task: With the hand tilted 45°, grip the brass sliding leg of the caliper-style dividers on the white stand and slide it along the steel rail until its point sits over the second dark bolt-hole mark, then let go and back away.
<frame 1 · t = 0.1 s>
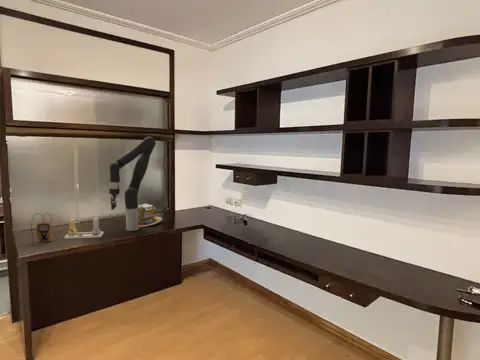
hand: (113, 208, 252), 17 cm above the table, tool pointing down, fingers open, 8 cm apart
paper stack: (146, 223, 275), on the table
white stand: (84, 236, 238), on the table
multimeter: (43, 243, 221), on the table
brass leg: (72, 226, 234), point 7 cm above the table, slide at 0.0 cm
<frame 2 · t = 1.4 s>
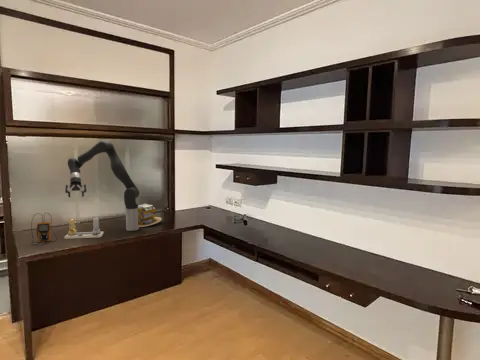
hand: (76, 196, 244), 27 cm above the table, tool tilted 45°, fingers open, 8 cm apart
nothing on the table moved.
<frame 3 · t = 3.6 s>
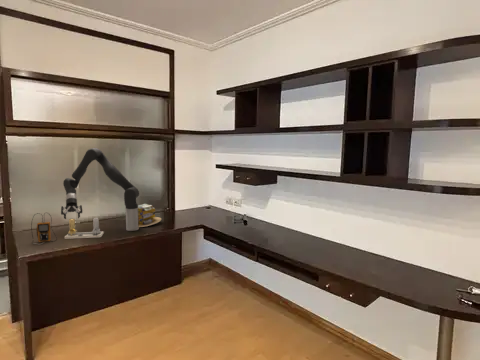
hand: (72, 218, 240), 12 cm above the table, tool tilted 45°, fingers open, 8 cm apart
nothing on the table moved.
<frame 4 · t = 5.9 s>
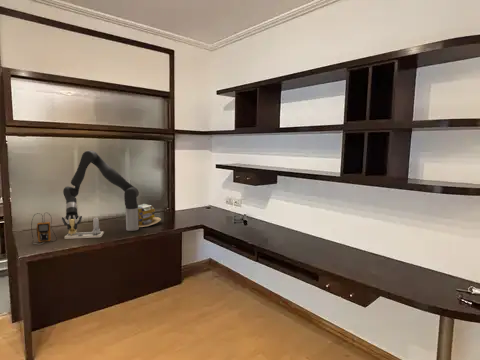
hand: (72, 229, 233), 6 cm above the table, tool tilted 45°, fingers closed on brass leg, 3 cm apart
brass leg: (71, 226, 234), point 7 cm above the table, slide at 0.0 cm, touching gripper
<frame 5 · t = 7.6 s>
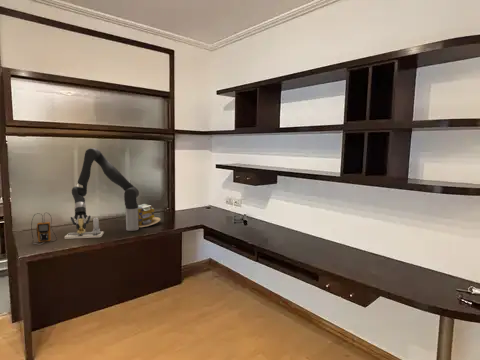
hand: (81, 228, 235), 6 cm above the table, tool tilted 45°, fingers closed on brass leg, 3 cm apart
brass leg: (80, 226, 235), point 7 cm above the table, slide at 5.9 cm, touching gripper
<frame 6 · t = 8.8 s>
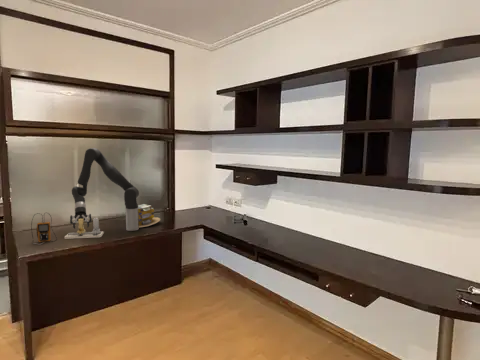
hand: (81, 227, 235), 7 cm above the table, tool tilted 45°, fingers open, 8 cm apart
brass leg: (80, 226, 235), point 7 cm above the table, slide at 5.9 cm
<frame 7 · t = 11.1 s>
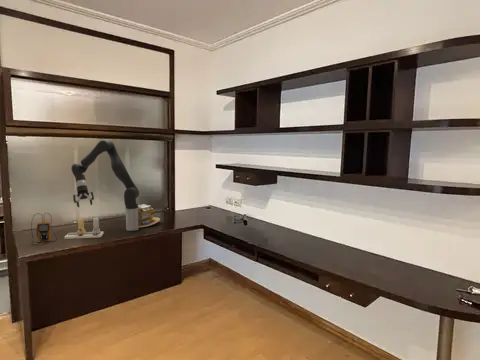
hand: (85, 205, 248), 20 cm above the table, tool tilted 35°, fingers open, 8 cm apart
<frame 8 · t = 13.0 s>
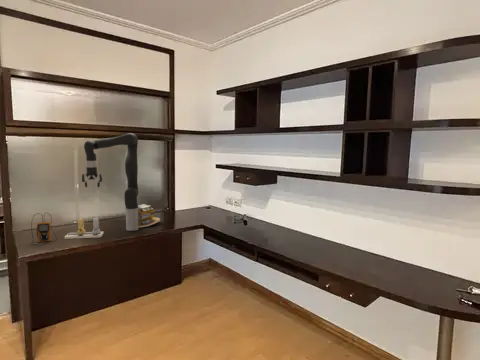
hand: (92, 187, 254), 33 cm above the table, tool pointing down, fingers open, 8 cm apart
at the end: brass leg slide at 5.9 cm; the gripper is holding nothing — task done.
